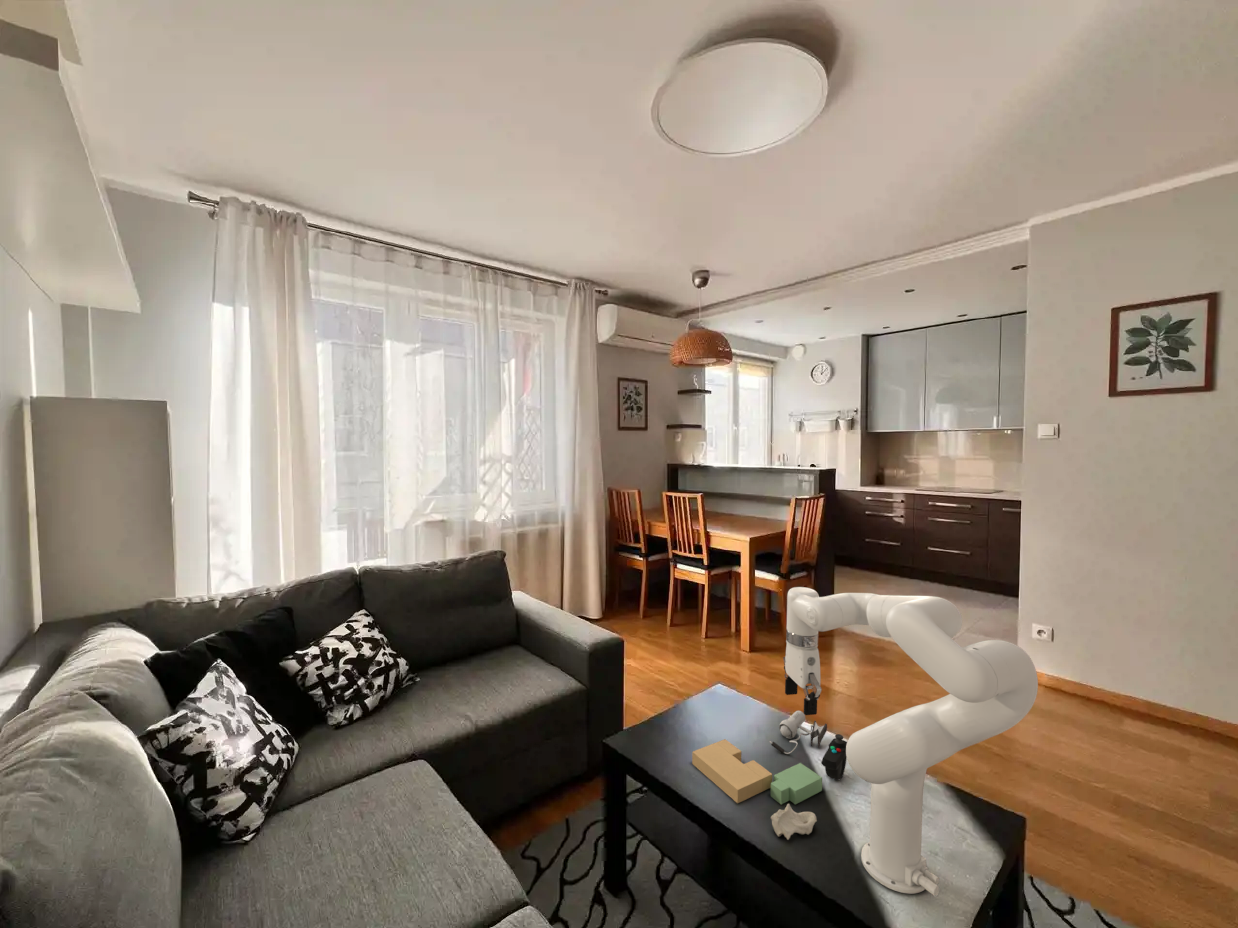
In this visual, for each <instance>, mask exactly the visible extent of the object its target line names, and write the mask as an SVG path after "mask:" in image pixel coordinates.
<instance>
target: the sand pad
mask: <svg viewBox="0 0 1238 928" xmlns="http://www.w3.org/2000/svg"><path fill="white" fill-rule="evenodd" d="M691 753H692V754H691V756H692V759H691V761H692V762H691V764H692V766H694V767H695V768H697V770H698V771H700V772H701V773H702V775H704V776H705V777H706V778H708V779H709V780H710V781H711V782H712V783H714V784H715V786H716V787H718V788H719V789H720V790H721V791H722V792H723V793H725V794H726V795H727V796H729V797H730V798H731V799H732V800H733V801H734V802H735V803H736V804H740V803H742V802H744V801H746V800H748V799H750V798H752V797H754V796H756V795H758V794H760V793H762V792H764V791H767V790H769V789H771V783H772V782H773V773H772V772H770V771H769V770H768V769H767V768H765V767H764V766H762V765H761V764H760V763H759V762H757V761H755V760H754V759H752V760H750V761H748V762H745V763H743V762H742V750H741V749H739V748H738V747H737V746H736V745H734V744H732V743H731V742H730V741H728V739H726V738H725V739H722V740H719V741H716V742H713V743H711V744H709V745H706V746H703V747H700V748H697V749H695V750H693V751H692V752H691Z"/></svg>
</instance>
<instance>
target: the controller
mask: <svg viewBox="0 0 1238 928" xmlns="http://www.w3.org/2000/svg"><path fill="white" fill-rule="evenodd" d="M846 745H847V740H844V736H843V735H842V734H839V733H836V734H835V735H834V738H832V740H831V741H830V743H829V744H828V748H827V750H826V752H825V753H824V755H823V757H822V759H821V762H820V764H821V765H822V766H823V767H824V770H825V774H826V776H827V777H828V778H830V779H832V780H835V781H840V780H841V779H842V778H843V776H844V774H845V770H846V765H847V756H846Z"/></svg>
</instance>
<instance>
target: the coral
mask: <svg viewBox="0 0 1238 928" xmlns="http://www.w3.org/2000/svg"><path fill="white" fill-rule="evenodd" d="M770 820H771V826H772V829H773V830H774V832H775V834H776V836H777V837H779V838H780V837H781V836H782V835H783V836H784V838H786V840H787V841H789V840H790V839H791V836H793V835H794V834H795V833H797V834H799V835H802V836H803V835H810V834H811V833H812V832H813V828H814V825H815V823H816V822H818V820H817V816H816V814H815V813H814V812H812V811H802V812H801V811H800V812H796V811H794V810H793V809H792V806H791V804H790V803H787V804H786V807H785V808H784V809H778V810H777V811H776V812H775V813H773V814H772V815H771V816H770Z"/></svg>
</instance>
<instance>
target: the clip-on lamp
mask: <svg viewBox="0 0 1238 928" xmlns="http://www.w3.org/2000/svg"><path fill="white" fill-rule="evenodd" d="M805 721H806V715H805V714H804V711H801V710H795V712H793V713H792V714H791V715H790V716H789V717H788V718H787V719H783V720H782V721H781V722H780V723H779V726H778V729H779V732H780V734H781V735H782V736H783V737H785V738H786V739H790V740H789V743H794V744H796V745H795V746H794V748H793V749H792V750H791V751H790V752H786V751H785V749H784V748H783V747H781V746H780V745H778V744H777V743H776V742H774V741H771V740H769V741H768V743H770V746H772V747H773V748H774V749H776V750H777V751H778V752H779V753H780V754H786V755H790V754H792V753H793V752H794V751H795V750H796V749H797V747H798V744H799V743H798V741H799V740H800V739H801V737H802V736H810V747H813V744H814V739H815V738H816V737H817V738H816V739H817V748H818V749H820V747H821V743H822V742H823V741H822V740H823V739H824V737H825V735H826V733H827V732H828V731H827V730H828V723H824V725H822V726H819V725H818V723H817V721H816V720H814V721H813V724H812V725H811V724H810V730H809V729H807V728H806V727H804V726H803V723H804V722H805ZM798 729H800V730H801V731H803V732H805V733H803V732H801V733H800V734H799V736H798V737H797V738H796V739H793V738H795V737H796V735H797V734H798Z"/></svg>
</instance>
